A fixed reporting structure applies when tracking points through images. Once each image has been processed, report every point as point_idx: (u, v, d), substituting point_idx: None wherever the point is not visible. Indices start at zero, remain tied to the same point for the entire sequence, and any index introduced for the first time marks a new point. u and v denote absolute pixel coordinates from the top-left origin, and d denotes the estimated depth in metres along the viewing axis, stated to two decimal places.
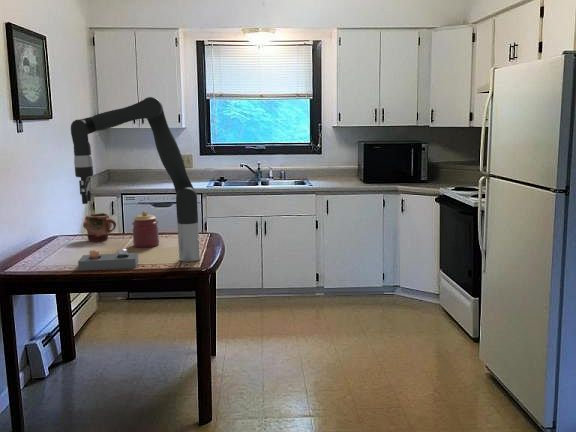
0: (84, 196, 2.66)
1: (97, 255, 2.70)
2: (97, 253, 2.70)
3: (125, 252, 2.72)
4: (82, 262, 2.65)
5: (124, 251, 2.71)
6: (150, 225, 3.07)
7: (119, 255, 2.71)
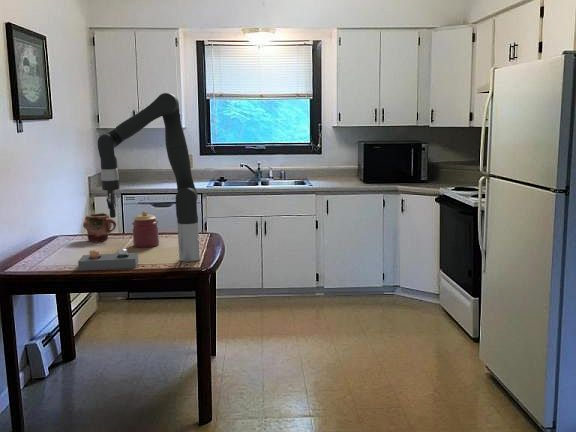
0: (112, 210, 2.75)
1: (97, 255, 2.70)
2: (97, 253, 2.70)
3: (125, 252, 2.72)
4: (82, 262, 2.65)
5: (124, 251, 2.71)
6: (150, 225, 3.07)
7: (119, 255, 2.71)
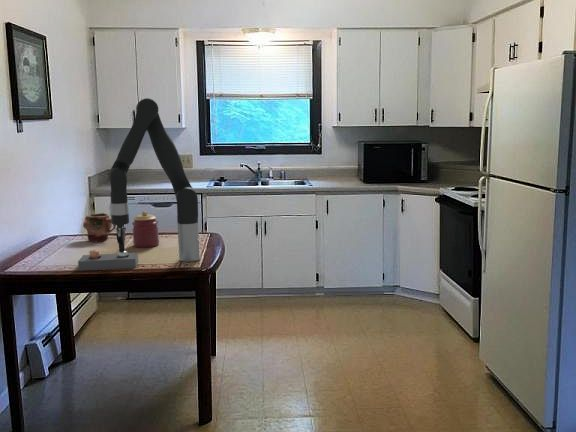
0: (121, 244, 2.71)
1: (97, 255, 2.70)
2: (97, 253, 2.70)
3: (125, 254, 2.72)
4: (82, 262, 2.65)
5: (124, 253, 2.71)
6: (150, 225, 3.07)
7: (119, 257, 2.72)
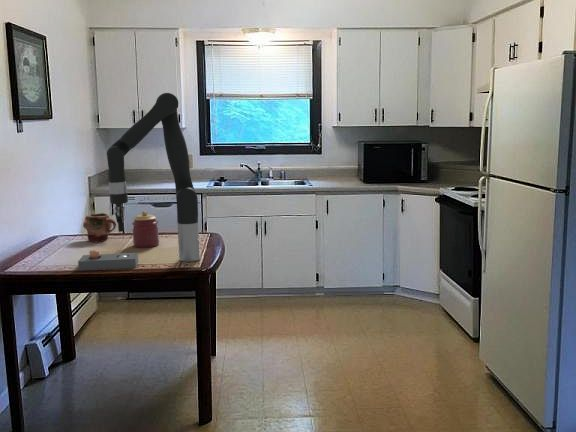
0: (120, 224, 2.69)
1: (97, 255, 2.70)
2: (97, 253, 2.70)
3: None
4: (82, 262, 2.65)
5: None
6: (150, 225, 3.07)
7: None
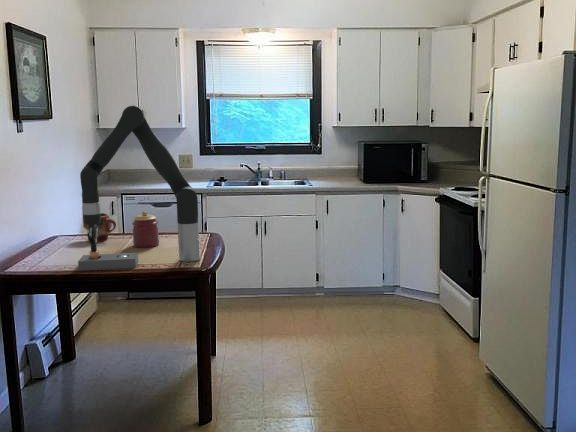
0: (93, 244, 2.69)
1: (97, 256, 2.70)
2: (97, 254, 2.70)
3: None
4: (82, 262, 2.65)
5: None
6: (150, 225, 3.07)
7: None
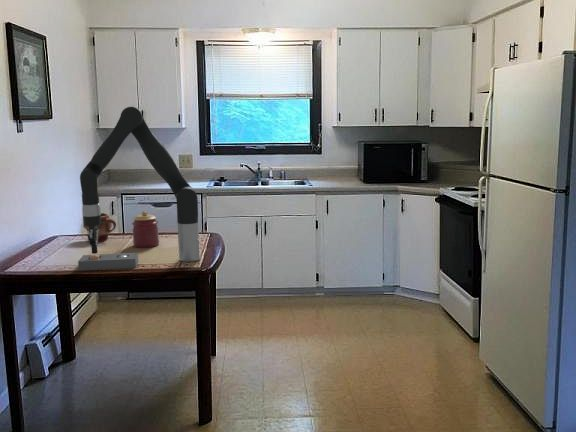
0: (94, 246, 2.69)
1: None
2: (97, 258, 2.70)
3: None
4: (82, 262, 2.65)
5: None
6: (150, 225, 3.07)
7: None
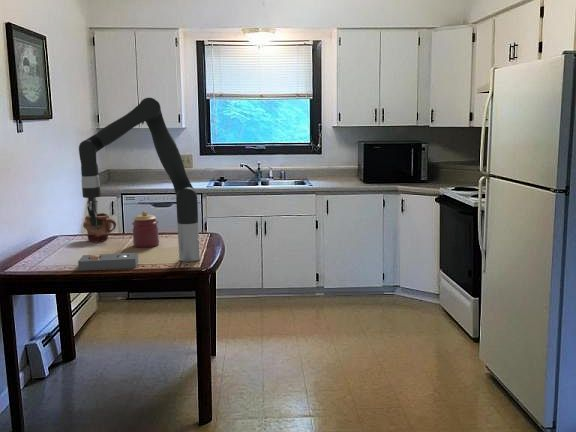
0: (93, 218, 2.69)
1: None
2: (97, 258, 2.70)
3: None
4: (82, 262, 2.65)
5: None
6: (150, 225, 3.07)
7: None
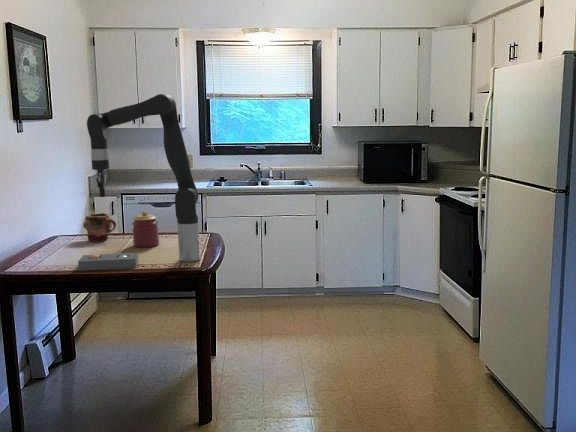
0: (102, 189, 2.79)
1: None
2: (97, 258, 2.70)
3: None
4: (82, 262, 2.65)
5: None
6: (150, 225, 3.07)
7: None
